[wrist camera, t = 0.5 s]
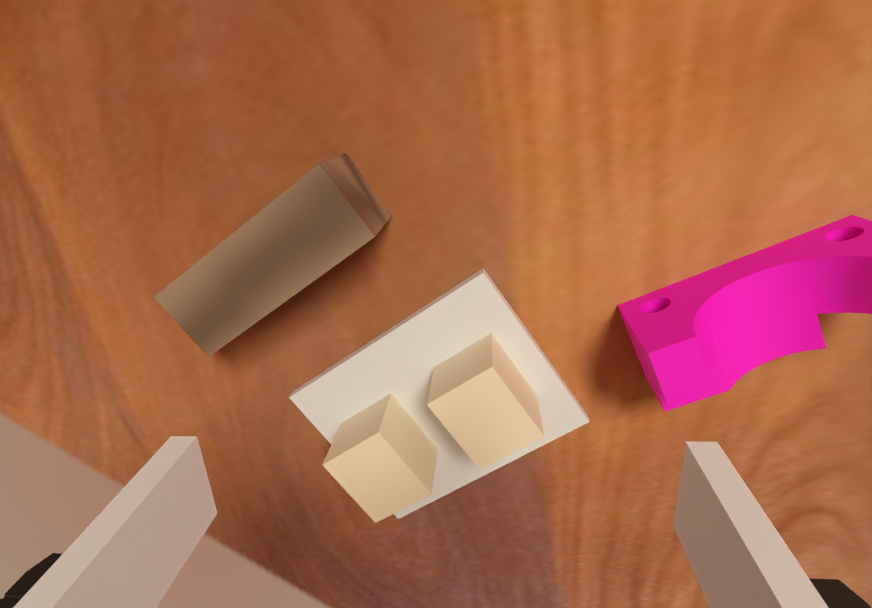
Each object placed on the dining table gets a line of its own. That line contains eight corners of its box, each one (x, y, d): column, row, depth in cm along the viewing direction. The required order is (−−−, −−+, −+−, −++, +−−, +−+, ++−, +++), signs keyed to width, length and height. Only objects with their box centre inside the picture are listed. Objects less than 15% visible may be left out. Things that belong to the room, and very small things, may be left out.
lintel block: (201, 268, 38) (153, 297, 32) (346, 152, 34) (319, 163, 28) (248, 320, 39) (208, 356, 34) (392, 214, 35) (375, 236, 30)
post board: (293, 390, 41) (262, 436, 35) (483, 268, 36) (482, 299, 30) (400, 510, 44) (387, 569, 39) (587, 413, 39) (603, 466, 34)
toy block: (645, 376, 38) (681, 439, 31) (616, 304, 36) (648, 353, 29) (868, 299, 34) (966, 350, 27) (850, 214, 32) (949, 245, 26)
